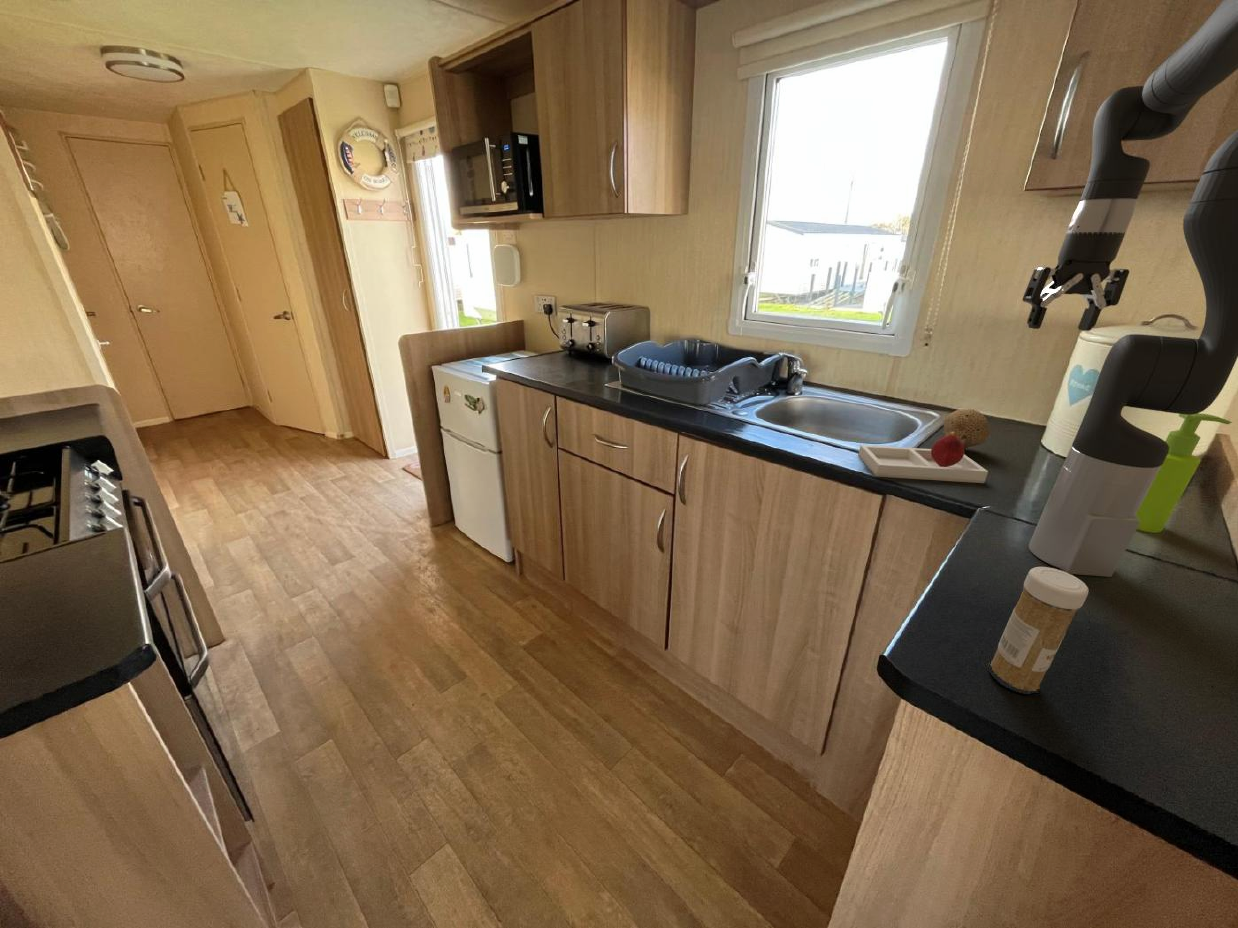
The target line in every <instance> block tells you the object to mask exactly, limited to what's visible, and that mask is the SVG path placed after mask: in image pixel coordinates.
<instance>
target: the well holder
mask: <svg viewBox="0 0 1238 928" xmlns="http://www.w3.org/2000/svg"><path fill="white" fill-rule="evenodd" d="M931 449H932V448H917V447H901V446H900V447H899V446H885V445H884V446H882V445H881V446H880V445H864V444H863V445H862V444H861V445H859V450H858V454H857V456H858V457H859V459H860V460H861V461H862V462H863V463H864V465H865V466H866V467H867V468H868V469H869V470H870V472H871V473H872V474H873V475H874V476H875V477H881V478H894V479H895V478H896V479H898V478H899V479H913V480H927V481H928V480H930V481H945V482H961V483H962V482H963V483H974V484H975V483H976V484H977V483H978V484H979V483H980V484H985V482H986V479H987V476H988V473H989V471H988V470H987V469H985V468H984V467H982V466H981V465H980V464H978V463H977V462H976V461H974V460H973V459H971V458H970V457H968V456H967V455H966V454H965V453H964V456H963V458H962V459H961V460H960V461H959V462H958V463H956V464H954V465H952V466H948V467H940V466H939V465H938V464H937V463H936V462H935V461H934V459H933V458H932V455H931Z"/></svg>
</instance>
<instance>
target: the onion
mask: <svg viewBox="0 0 1238 928" xmlns="http://www.w3.org/2000/svg"><path fill="white" fill-rule="evenodd" d="M930 449H931V455H932V458H933V459H934V461H935V462H936V463H937V464H938V465H939V466H940V467H948V466H952V465H954V464H956V463H958V462H959V461H960V460H961V459H962V458H963V456H964V454H965V449H964V446H963V443H962V442H961V441H960V440H959V439H958V438H957V437H956V433H955V432H950V434H949V435H948V436H946V437H945V436H943V437H940V438H939V439H937V440H935V442H934V443H933V445H932V446H931V448H930Z"/></svg>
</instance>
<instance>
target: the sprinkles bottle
mask: <svg viewBox="0 0 1238 928" xmlns="http://www.w3.org/2000/svg"><path fill="white" fill-rule="evenodd" d="M1024 579H1025V580H1024V582H1023V587H1022V592H1021V594H1020V597H1019V599H1018V601H1017V603H1016V605H1015V607H1014V608H1013V610H1012V613H1011V615H1010V617H1009V619H1008V622H1007V624H1006V626H1005V629H1004V630H1003V632H1002V635H1001V638H1000V640H999V642H998V646H997V650H996V651H995V654H994V656H993V658H992V661H991V664H990V663H989V664H990V665H991V667H992V670H993V671H994V673H995V674H997V676H998V677H1000V678H1001V679H1002V680H1003V681H1005V682H1006V683H1009V685H1011V686H1013V687H1015V688H1017V689H1021V690H1025V691H1026V690H1027V691H1029V692H1030V691H1036V690H1037V689H1039V690H1040V688H1041V686H1039V685H1041V683H1042V681H1043V678H1044V677H1045V675H1046V673H1047V670H1048V669H1050V667H1051V664H1052V663H1053V660H1054V658H1055V656H1056V654H1057V652H1058V650H1059V648H1060V646H1061V644H1062V642H1063V640H1064V638H1065V635H1066V632H1067V631H1068V628H1069V626H1070V624H1071V623H1072V621H1073V618H1074V616H1075V615H1076V612H1077V611H1078V610H1079V609H1081V607H1083V606H1084V603H1086V602H1085V601H1086V599H1087V597H1088V595H1089V587H1088V586H1087V585H1086V583H1085V582H1084V581H1082V580H1081V579H1080V578H1078V577H1076V576H1074V574H1068V573H1066V572H1064V571H1063V570H1061V569H1057V568H1055V567H1054V568H1053V567H1047V566H1037V567H1033V568H1031V569H1030V570H1029V571H1028V572H1027V575H1026V577H1025V578H1024Z"/></svg>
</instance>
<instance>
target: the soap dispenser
mask: <svg viewBox="0 0 1238 928" xmlns="http://www.w3.org/2000/svg"><path fill="white" fill-rule="evenodd" d="M1178 417H1180V418H1182V419H1183V422H1182V424H1181V426H1180V428H1179V429H1177V430H1172V431H1170V432H1169V433H1168V435H1167V437H1166V439H1165V440H1164V441H1165V442H1166V443H1167V444H1168V445H1169V452H1168V455H1167V457H1166V459H1165V460H1164V462H1163V464H1162V466H1161V468H1160V470H1159V472H1158V474H1157V475H1156V477H1155V479H1154V481H1153V483H1152V485H1151V487H1150V489H1149V490H1148V492H1147V494H1146V496H1145V498H1144V500H1143V502H1142V504H1141V506H1140V508H1139V510H1138V511H1137V513H1136V515H1135V517H1136V518H1138V519H1139V520H1140V524H1139V526H1138V528H1137V529H1136V531H1141V532H1145V533H1153V534H1155V533H1161V532H1162V531H1163V530H1164V528H1165V526H1166V525H1167V523H1168V521H1169V519H1170V517H1171V516H1172V513H1173V512H1174V510H1175V508H1176V506H1177V504H1178V503H1179V501H1180V499H1181V497H1182V496H1183V494H1184V492H1185V491H1186V489H1187V487H1188V485H1189V483H1190V482H1191V479H1192V478H1193V476H1194V474H1195V472H1196V470H1197V469H1198V467H1199V465H1200V463H1201V462H1202V459H1200V457H1197V456H1195V455H1193V453H1194V451H1195V449H1196V447H1197V445H1198V443H1199V441H1200V439H1201V436H1199V435H1198V434H1197V433H1196V431H1197V429H1198V428H1199V426H1200V424H1201V422H1202V421H1207V422H1217V423H1221V424H1225V425H1230V424H1231V423H1233V422H1232V421H1230V420H1228V419H1225V418H1222V417H1220V416H1217V415H1211V414H1207V413H1201V412H1200V413H1197V414H1192V415H1187V414H1178Z"/></svg>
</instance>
